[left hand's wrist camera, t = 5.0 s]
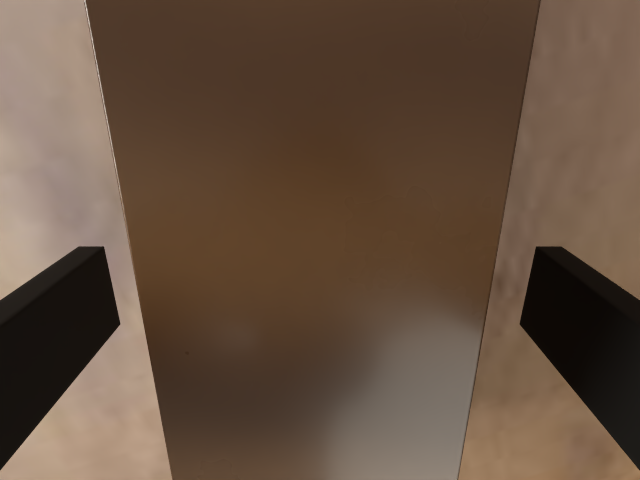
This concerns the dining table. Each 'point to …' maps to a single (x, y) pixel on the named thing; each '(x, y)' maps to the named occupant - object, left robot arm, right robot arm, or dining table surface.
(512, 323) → the dining table surface
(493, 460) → the dining table surface
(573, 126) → the dining table surface
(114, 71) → the beam
